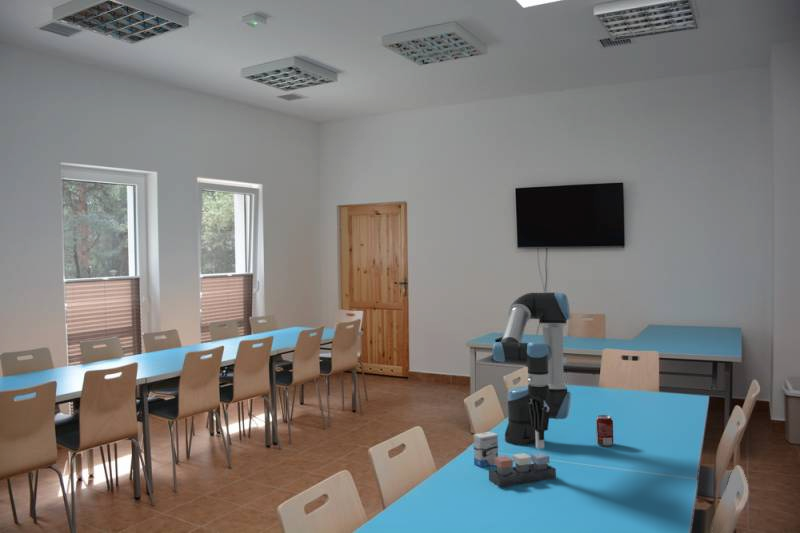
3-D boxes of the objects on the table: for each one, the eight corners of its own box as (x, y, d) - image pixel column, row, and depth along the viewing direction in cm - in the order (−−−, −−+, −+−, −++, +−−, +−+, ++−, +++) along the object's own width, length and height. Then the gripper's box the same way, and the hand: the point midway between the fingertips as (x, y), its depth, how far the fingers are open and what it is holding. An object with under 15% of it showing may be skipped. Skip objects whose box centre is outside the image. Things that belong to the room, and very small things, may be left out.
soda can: (614, 447, 257) (613, 418, 257) (597, 446, 259) (597, 418, 258) (612, 442, 264) (611, 414, 264) (595, 441, 265) (595, 414, 265)
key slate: (538, 473, 224) (537, 458, 224) (531, 468, 228) (530, 454, 228) (549, 471, 225) (549, 456, 225) (542, 467, 230) (542, 452, 230)
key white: (519, 473, 221) (519, 458, 221) (513, 469, 226) (512, 454, 226) (531, 471, 223) (531, 457, 223) (524, 467, 227) (524, 453, 227)
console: (499, 487, 217) (499, 478, 217) (489, 480, 225) (488, 470, 224) (555, 478, 224) (555, 469, 224) (544, 471, 232) (543, 462, 232)
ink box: (481, 468, 237) (480, 437, 237) (473, 464, 242) (472, 434, 242) (499, 464, 241) (498, 434, 241) (491, 460, 246) (490, 430, 245)
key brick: (501, 476, 219) (500, 461, 219) (494, 472, 223) (494, 457, 223) (513, 474, 220) (512, 459, 220) (506, 470, 225) (506, 455, 225)
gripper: (520, 381, 231) (522, 443, 232) (538, 389, 219) (540, 454, 219) (538, 379, 233) (539, 441, 234) (557, 386, 221) (558, 451, 222)
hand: (540, 447), depth 227 cm, fingers closed
